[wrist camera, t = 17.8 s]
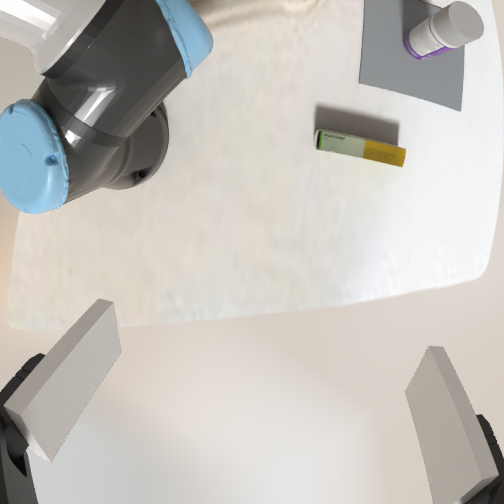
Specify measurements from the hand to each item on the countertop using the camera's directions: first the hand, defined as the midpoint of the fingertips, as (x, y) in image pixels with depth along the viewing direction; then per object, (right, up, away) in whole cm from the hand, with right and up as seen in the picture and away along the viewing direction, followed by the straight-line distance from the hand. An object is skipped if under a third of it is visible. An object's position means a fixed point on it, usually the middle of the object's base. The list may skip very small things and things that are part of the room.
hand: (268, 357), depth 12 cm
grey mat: (+22, +33, +21) cm, 45 cm away
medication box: (+14, +19, +29) cm, 37 cm away
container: (+22, +33, +21) cm, 45 cm away
